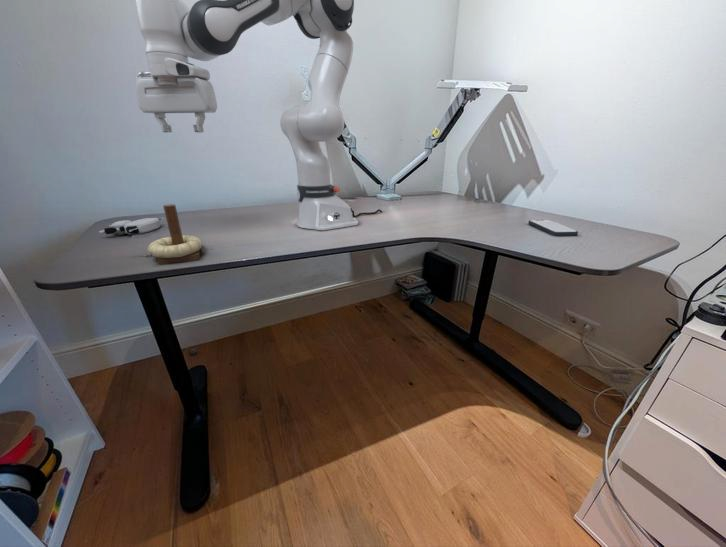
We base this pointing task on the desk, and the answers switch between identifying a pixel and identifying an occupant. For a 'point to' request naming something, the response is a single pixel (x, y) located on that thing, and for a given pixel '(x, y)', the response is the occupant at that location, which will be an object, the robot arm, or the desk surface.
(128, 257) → the desk surface
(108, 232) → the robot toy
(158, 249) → the cream ring
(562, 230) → the phone case
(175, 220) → the stand
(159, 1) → the robot arm
